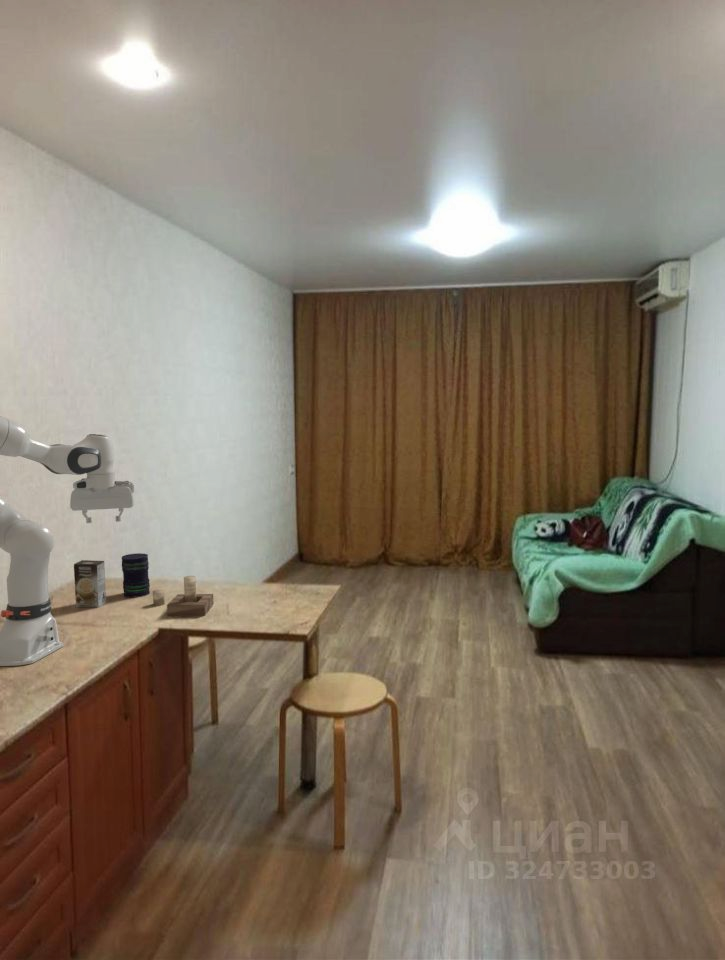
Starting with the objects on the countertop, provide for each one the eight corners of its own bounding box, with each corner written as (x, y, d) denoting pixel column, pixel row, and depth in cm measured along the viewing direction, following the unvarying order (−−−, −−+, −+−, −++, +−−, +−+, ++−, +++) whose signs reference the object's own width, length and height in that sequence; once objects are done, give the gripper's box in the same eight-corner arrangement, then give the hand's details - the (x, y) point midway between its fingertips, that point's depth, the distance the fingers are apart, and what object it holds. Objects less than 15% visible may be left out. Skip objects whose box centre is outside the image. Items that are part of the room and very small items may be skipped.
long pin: (193, 612, 241) (191, 578, 239) (183, 611, 242) (181, 578, 240) (198, 609, 244) (197, 576, 243) (189, 608, 246) (187, 575, 244)
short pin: (162, 605, 249) (162, 592, 249) (151, 605, 249) (151, 592, 249) (166, 602, 253) (165, 589, 253) (155, 602, 253) (154, 589, 253)
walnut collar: (204, 615, 237) (204, 604, 236) (167, 616, 237) (166, 604, 236) (213, 604, 249) (213, 593, 249) (178, 605, 250) (177, 594, 249)
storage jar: (139, 598, 259) (137, 559, 258) (117, 596, 262) (115, 558, 261) (155, 591, 269) (153, 554, 267) (134, 589, 272) (132, 552, 270)
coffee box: (75, 607, 249) (72, 564, 247) (83, 602, 255) (81, 560, 254) (99, 607, 248) (96, 564, 246) (107, 602, 254) (104, 560, 253)
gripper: (134, 479, 238) (136, 518, 239) (71, 482, 233) (73, 522, 235) (132, 481, 232) (134, 521, 233) (67, 484, 227) (70, 525, 229)
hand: (103, 522), depth 234 cm, fingers open, 8 cm apart
